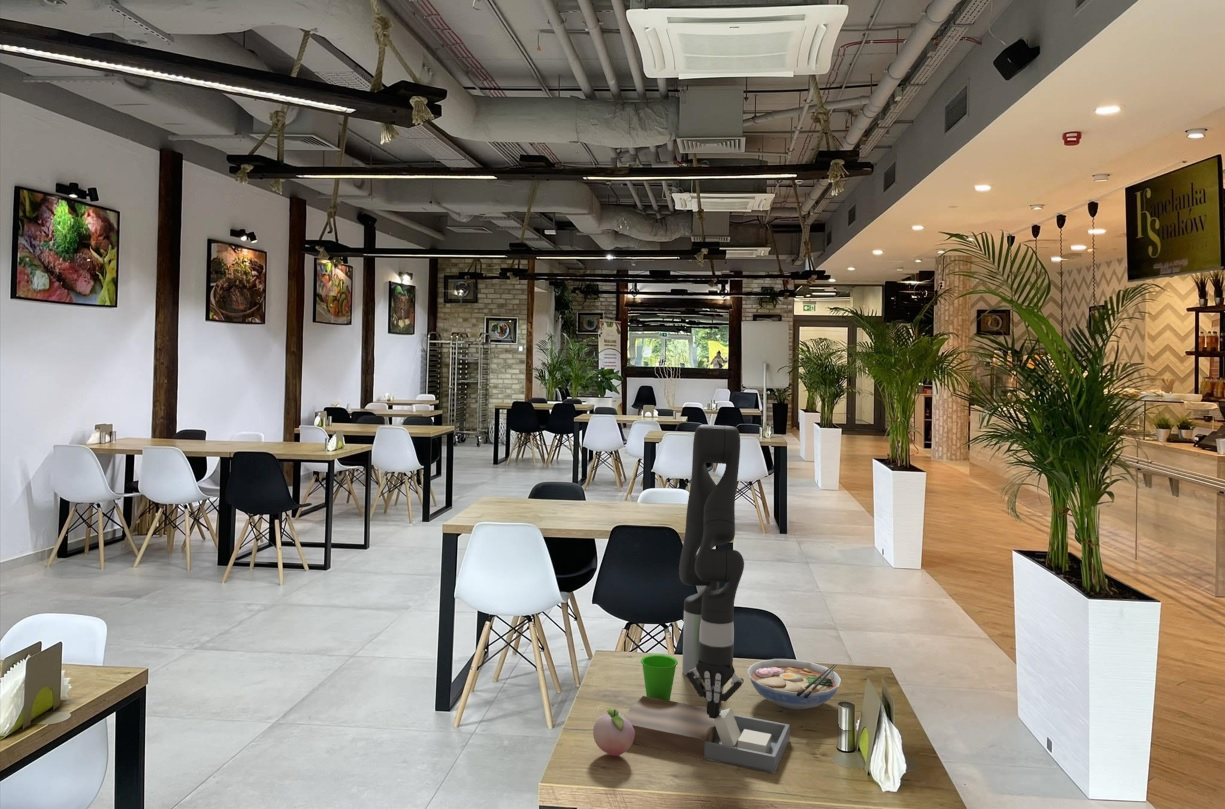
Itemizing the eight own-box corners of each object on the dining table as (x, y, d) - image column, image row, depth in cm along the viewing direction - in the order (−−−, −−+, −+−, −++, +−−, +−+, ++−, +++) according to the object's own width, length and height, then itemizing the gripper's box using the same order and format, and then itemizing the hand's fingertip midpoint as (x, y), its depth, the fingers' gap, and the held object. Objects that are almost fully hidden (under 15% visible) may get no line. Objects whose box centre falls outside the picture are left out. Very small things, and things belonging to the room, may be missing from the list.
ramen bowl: (769, 678, 215) (770, 648, 214) (854, 699, 202) (855, 667, 201) (728, 709, 194) (729, 676, 194) (819, 735, 181) (821, 699, 181)
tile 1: (720, 710, 179) (730, 708, 178) (730, 736, 178) (740, 734, 177) (713, 721, 173) (723, 718, 172) (723, 748, 172) (734, 745, 172)
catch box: (724, 727, 184) (724, 712, 184) (789, 740, 178) (789, 724, 178) (704, 758, 169) (704, 742, 168) (774, 773, 163) (774, 756, 163)
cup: (633, 707, 194) (634, 663, 193) (649, 695, 202) (650, 652, 201) (667, 716, 189) (668, 670, 189) (682, 702, 197) (683, 658, 197)
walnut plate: (642, 712, 191) (643, 695, 191) (724, 728, 184) (724, 710, 183) (617, 739, 177) (617, 722, 176) (704, 758, 169) (705, 739, 169)
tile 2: (771, 734, 174) (771, 745, 174) (744, 729, 176) (744, 740, 177) (765, 745, 169) (765, 757, 169) (737, 740, 171) (737, 751, 171)
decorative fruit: (586, 750, 171) (587, 704, 171) (620, 743, 175) (621, 698, 174) (603, 770, 163) (604, 721, 163) (639, 763, 166) (640, 715, 166)
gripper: (750, 639, 176) (746, 716, 177) (692, 629, 181) (689, 704, 182) (741, 649, 169) (738, 730, 170) (682, 639, 174) (679, 717, 175)
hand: (713, 716), depth 176 cm, fingers closed
